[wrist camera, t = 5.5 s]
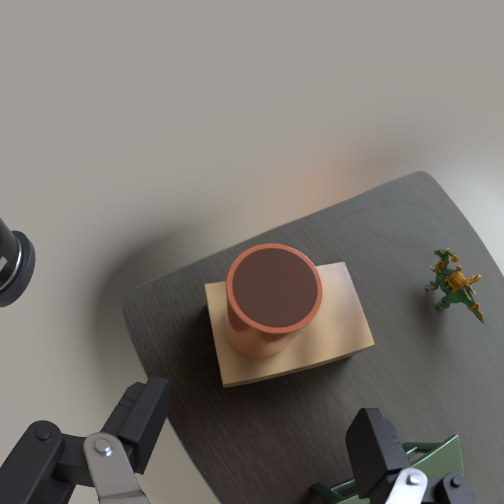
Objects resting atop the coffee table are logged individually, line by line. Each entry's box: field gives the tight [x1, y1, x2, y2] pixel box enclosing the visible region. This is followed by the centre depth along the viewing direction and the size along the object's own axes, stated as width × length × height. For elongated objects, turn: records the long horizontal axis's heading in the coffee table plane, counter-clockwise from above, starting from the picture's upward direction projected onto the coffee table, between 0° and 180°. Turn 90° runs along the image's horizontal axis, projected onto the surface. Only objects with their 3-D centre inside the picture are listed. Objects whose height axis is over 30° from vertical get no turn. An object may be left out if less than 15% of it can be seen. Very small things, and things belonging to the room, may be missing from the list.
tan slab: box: [205, 262, 374, 388], centre depth 27 cm, size 14×9×5 cm, turn 103°
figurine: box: [426, 248, 484, 324], centre depth 29 cm, size 3×12×8 cm, turn 28°
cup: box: [224, 244, 323, 358], centre depth 20 cm, size 6×6×8 cm
